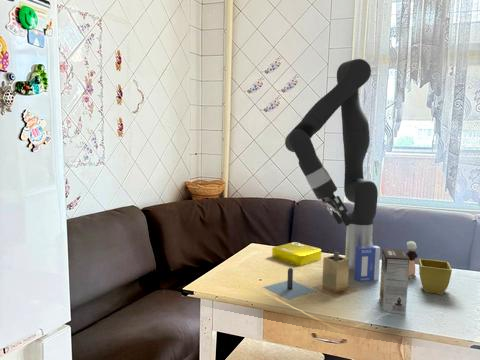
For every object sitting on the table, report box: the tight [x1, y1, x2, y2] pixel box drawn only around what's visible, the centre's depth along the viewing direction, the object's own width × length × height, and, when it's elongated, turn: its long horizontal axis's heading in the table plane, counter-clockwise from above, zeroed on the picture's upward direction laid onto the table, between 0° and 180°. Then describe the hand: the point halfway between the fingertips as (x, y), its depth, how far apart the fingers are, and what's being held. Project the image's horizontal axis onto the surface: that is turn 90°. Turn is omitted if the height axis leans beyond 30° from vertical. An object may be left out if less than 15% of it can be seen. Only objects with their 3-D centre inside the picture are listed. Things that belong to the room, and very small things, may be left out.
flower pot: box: [418, 258, 453, 295], centre depth 133 cm, size 9×9×9 cm
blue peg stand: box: [263, 267, 317, 300], centre depth 131 cm, size 12×12×7 cm
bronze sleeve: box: [321, 254, 350, 294], centre depth 132 cm, size 6×6×10 cm
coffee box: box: [379, 248, 410, 315], centre depth 120 cm, size 9×6×16 cm
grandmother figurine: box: [406, 240, 419, 279], centre depth 146 cm, size 8×4×13 cm, turn 135°
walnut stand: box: [311, 251, 358, 298], centre depth 132 cm, size 10×10×12 cm
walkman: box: [354, 245, 381, 282], centre depth 141 cm, size 8×3×12 cm, turn 102°
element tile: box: [271, 241, 322, 267], centre depth 166 cm, size 15×15×5 cm
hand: (344, 223), depth 142 cm, fingers open, 8 cm apart
